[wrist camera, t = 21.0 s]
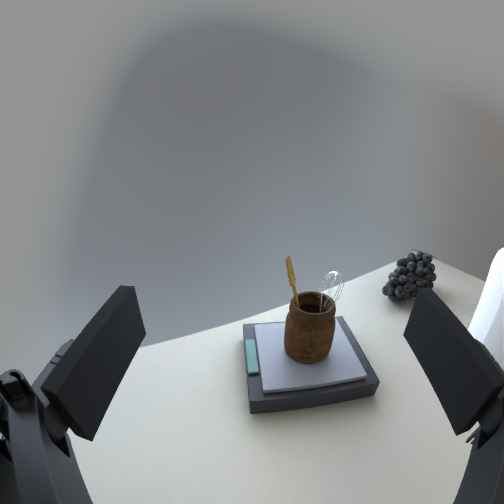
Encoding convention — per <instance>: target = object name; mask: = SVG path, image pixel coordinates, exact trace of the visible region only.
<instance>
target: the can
mask: <svg viewBox="0 0 504 504" xmlns="http://www.w3.org/2000/svg"><path fill="white" fill-rule="evenodd" d="M468 331H469V332H470V334H471V335H472V336H473V337H474V339H477V340H478V341H479V342H481V343H482V344H483V345H485V347H486V348H487V349H488V351H489V352H490V355H491V354H492V356H493V357H494V358H495V361H497V362H498V364H499V365H500V366H501V368H502V369H503V371H504V248H502V249H500V250H499V251H498V252H497V254H496V256H495V258H494V260H493V262H492V264H491V268H490V271H489V274H488V278H487V281H486V284H485V287H484V290H483V293H482V295H481V298H480V301H479V304H478V306H477V309H476V311H475V314H474V316H473V319H472V321H471V323H470V326H469V328H468Z"/></svg>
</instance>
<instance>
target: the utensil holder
mask: <svg viewBox="0 0 504 504" xmlns="http://www.w3.org/2000/svg"><path fill="white" fill-rule="evenodd" d="M285 262H286V267H287V272H288V278H289V283H290V286H292V289H293V294H294V297H293V298H292V300H291V303H290V306H289V313H288V315H287V317H286V322H285V333H284V349H285V352H286V354H287V355H288V356H289V357H290V358H291V359H293V360H295V361H297V362H300V363H305V364H312V363H317V362H320V361H322V360H323V359H325V358H326V357H327V355H328V354H329V352H330V350H331V346H332V342H333V337H334V332H335V326H336V320H335V316H334V315H335V312H336V307H335V302H336V301H337V300H338V299H337V300H336V299H335V300H336V301H334V300H333V299H332V298H331V297H329V296H330V295H329V296H328V295H326V294H323V293H319V292H302V293H299V294H297V292H296V287H295V275H294V271H293V267H292V263H291V258H290V255H288V257H287V259H285ZM330 273H333V272H330ZM334 273H335V275H336V274H338V273H337V272H334ZM339 275H341V274H339ZM331 276H332V275H331ZM334 277H335V276H334ZM339 277H340V276H339ZM341 277H342V276H341ZM323 279H324V278H323ZM328 279H329V278H328ZM325 281H326V280H325ZM340 283H341V281H340ZM331 286H332V285H331ZM339 286H340V287H341V284H339ZM343 286H344V284H343ZM332 288H333V287H332ZM338 288H339V287H338ZM342 289H343V287H342ZM339 290H340V289H339ZM329 291H330V290H329ZM331 291H332V290H331ZM337 291H338V290H337ZM322 292H323V290H322ZM341 292H342V290H341ZM330 293H331V292H330ZM336 293H337V292H336ZM338 293H339V292H338ZM328 294H329V293H328ZM340 294H341V293H340ZM335 295H336V294H335ZM337 296H338V295H337ZM339 296H340V295H339ZM334 297H335V296H334ZM336 298H337V297H336ZM338 298H339V297H338Z"/></svg>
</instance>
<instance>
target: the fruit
mask: <svg viewBox="0 0 504 504" xmlns="http://www.w3.org/2000/svg"><path fill="white" fill-rule="evenodd" d="M431 261H432V256H431V255H430V254H423V253H422V252H417V254H416V255H415V254H414V253H409V254H408V256H407V258H403V259H400V260H398V261H397V267H398V268H397V269H395V270H394V272H393V273H390V275H389V276H388V277H389V282H387V283H386V285H385V286H384V287H383V289H382V293H383V294H384V295H386V296H387V295H388V299H389V300H390V301H395V300H397V297H398V296H402V297H403V298H404V299H408V298H409V297H410V294H411V295H412V296H416V295H417V292H418V289H424V288H431V289H432V288H433V282H432V281H435V280H436V274H435V273H433V272H434V270H435V266H434V264H431Z"/></svg>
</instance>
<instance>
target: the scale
mask: <svg viewBox="0 0 504 504" xmlns="http://www.w3.org/2000/svg"><path fill="white" fill-rule="evenodd" d="M335 320H336V326H335V332H334V337H333V342H332V346H331V350H330V352H329V354H328V355H327V357H326V358H325V359H323V360H322V361H320V362H317V363H312V364H305V363H300V362H297V361H295V360H293V359H291V358H290V357H289V356H288V355H287V354H286V352H285V349H284V333H285V322H272V323H254V324H243V337H244V349H245V362H246V373H247V385H248V396H249V407H250V414H255V413H268V412H279V411H288V410H296V409H304V408H310V407H317V406H323V405H329V404H334V403H339V402H344V401H349V400H354V399H358V398H362V397H367V396H371V395H374V394H375V391H376V389H377V387H378V385H379V383H380V381H379V379H378V377H377V376H376V374H375V372H374V370H373V368H372V367H371V365H370V363H369V361H368V360H367V358H366V356H365V354H364V353H363V351H362V349H361V347H360V346H359V344H358V342H357V340H356V339H355V337H354V335H353V334H352V332H351V330H350V328H349V327H348V325H347V323H346V322H345V320H344V318H343V317H342V316H339V317H335Z"/></svg>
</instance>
